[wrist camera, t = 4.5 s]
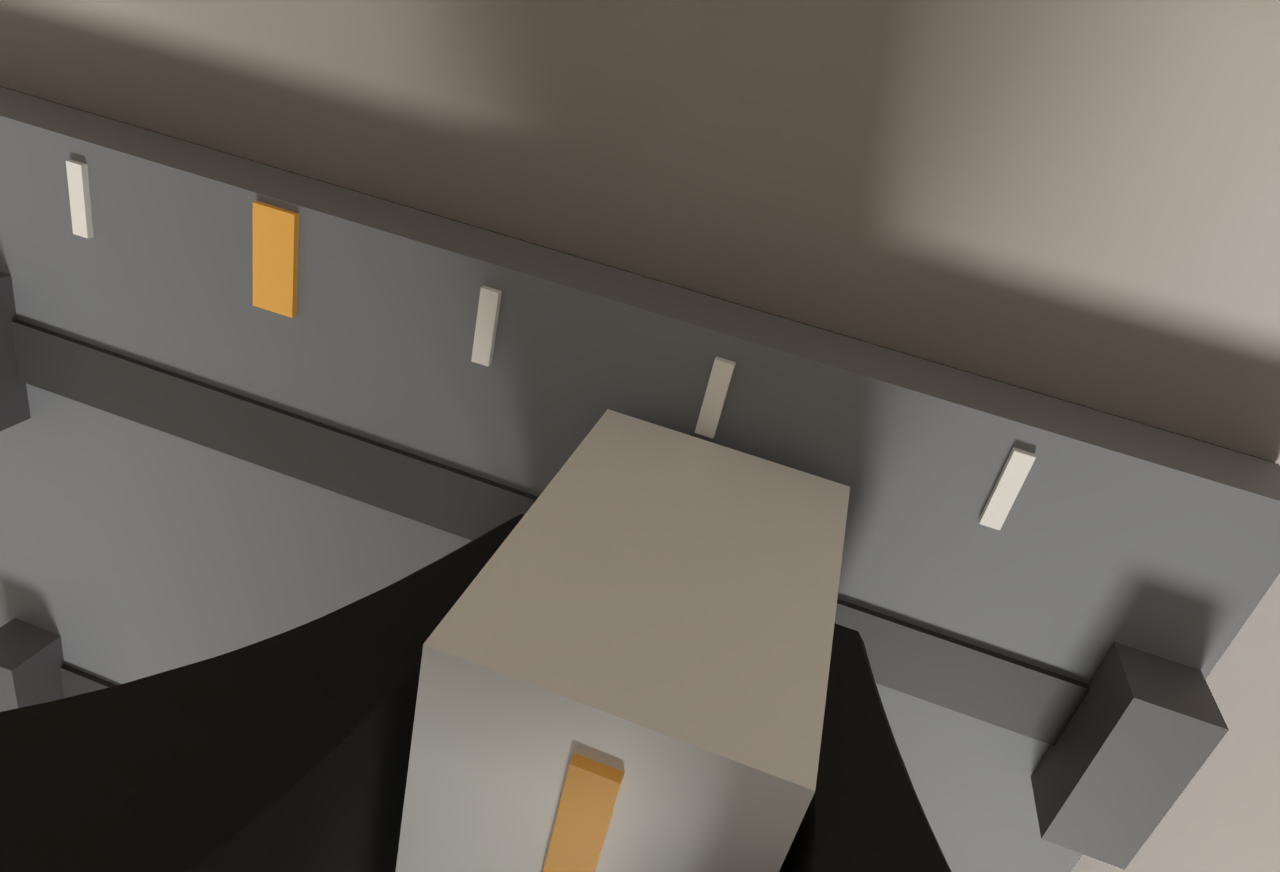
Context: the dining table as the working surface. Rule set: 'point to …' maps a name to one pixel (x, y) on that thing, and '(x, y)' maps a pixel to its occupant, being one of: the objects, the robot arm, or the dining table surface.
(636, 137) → the dining table surface
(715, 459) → the fader knob
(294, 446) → the console board
